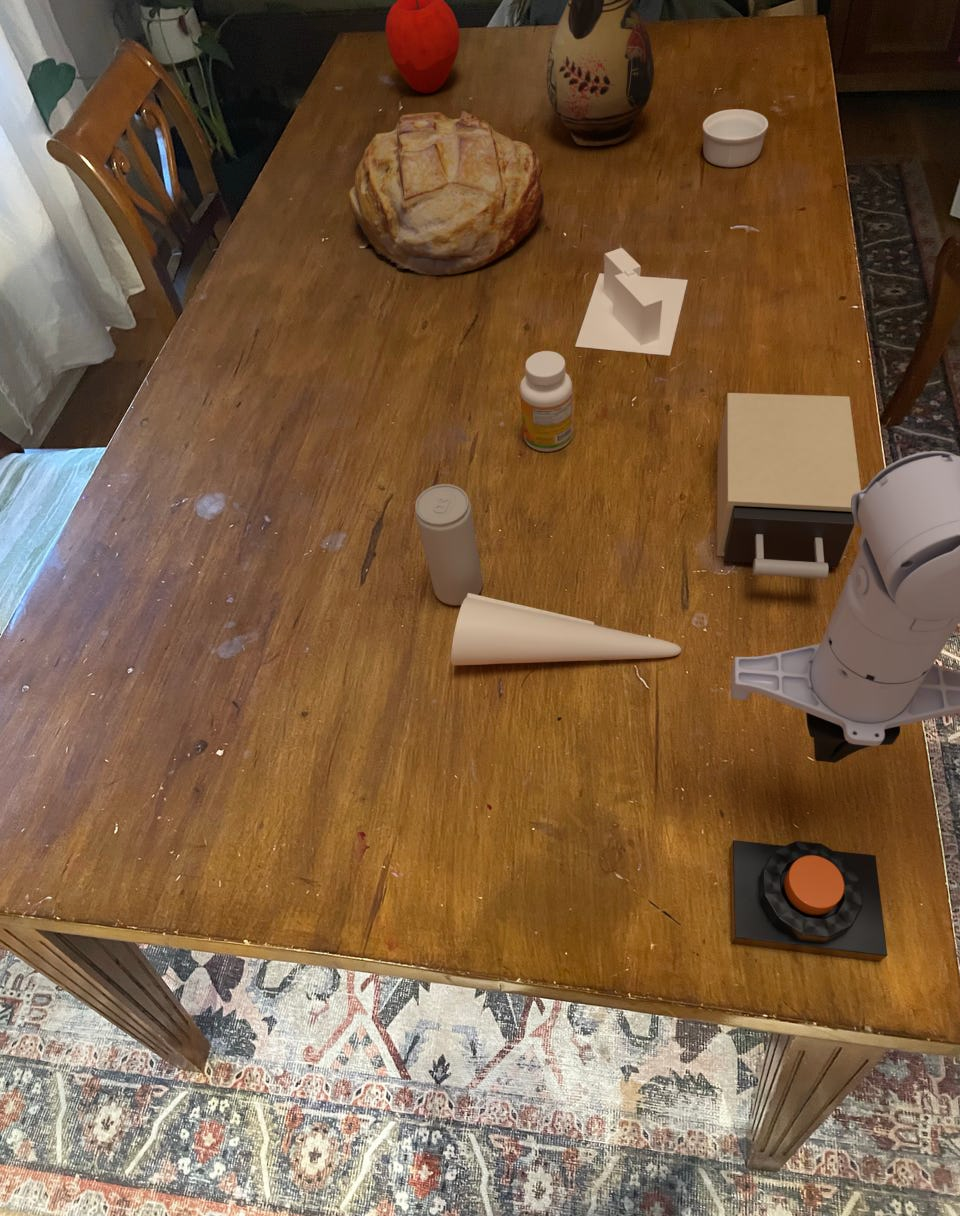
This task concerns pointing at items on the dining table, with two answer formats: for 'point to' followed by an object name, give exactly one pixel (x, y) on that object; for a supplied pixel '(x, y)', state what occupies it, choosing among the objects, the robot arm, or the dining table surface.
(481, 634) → the long cone
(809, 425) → the cabinet
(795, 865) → the button
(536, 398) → the supplement bottle
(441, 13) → the apple
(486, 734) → the dining table surface
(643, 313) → the napkin holder
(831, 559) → the drawer
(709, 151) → the ramekin
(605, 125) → the ceramic jug
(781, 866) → the panel
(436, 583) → the beverage can
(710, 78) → the dining table surface
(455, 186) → the bread
